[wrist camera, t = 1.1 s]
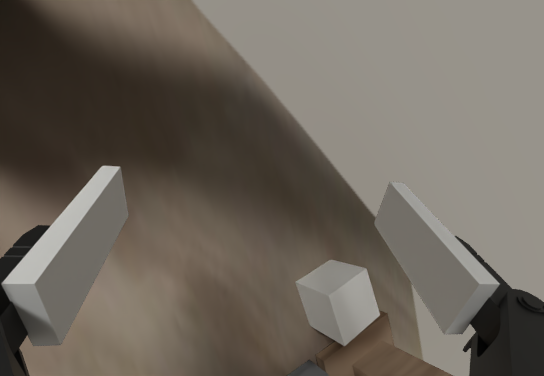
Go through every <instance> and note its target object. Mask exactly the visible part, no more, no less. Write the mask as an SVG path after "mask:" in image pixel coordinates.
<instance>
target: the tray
mask: <svg viewBox="0 0 544 376" xmlns="http://www.w3.org/2000/svg"><path fill="white" fill-rule="evenodd" d="M287 376H329V374H327V373H326V372H325V371H323V370H322V369H321V368H319V367H318V366H317V365H315V364H314V363H313V362H312V361H310V360H308V361H307V362H305V363H304V364H303V365H301V366H300V367H298V368H297V369H296V370H294V371H293V372H291V373H290V374H289V375H287Z"/></svg>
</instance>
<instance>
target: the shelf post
mask: <svg viewBox="0 0 544 376" xmlns="http://www.w3.org/2000/svg"><path fill="white" fill-rule="evenodd" d="M379 313H380V316H379V317H377V318H376V319H375V320H374V321H373V322H372V323H371V324H370V325H368V326H367V327H366V328H365V329H364V330H363V331H362V332H360V333H359V334H358V335H357V336H356V337H355V338H354V339H352V340H351V341H350V342H349V343H348V344H347V345H346V346H343V345H342V344H340V343H338V342H337V341H335V342H333V343H332V344H331V345H329V346H328V347H326V348H325V349H324V350H322V351H321V352H319V353H318V354H317V355H315V356H316V360H317V364H318V367H319V368H321V369H322V370H323V371H325V372H326V373H327V374H329V376H453V375H451V374H448V373H447V372H444V371H443V370H441V369H439V368H437V367H435V366H432V365H430V364H428V363H426V362H425V361H423V360H420V359H418V358H416V357H414V356H412V355H410V354H408V353H406V352H404V351H402V350H400V349H398V348H396V347H395V346H394V342H393V337H392V333H391V328H390V323H389V319H388V314H387V313H384V312H382V311H379Z"/></svg>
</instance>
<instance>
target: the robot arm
mask: <svg viewBox="0 0 544 376" xmlns="http://www.w3.org/2000/svg"><path fill="white" fill-rule="evenodd" d="M128 216H129V215H128V209H127V203H126V197H125V190H124V184H123V178H122V172H121V167H118V166H102V167H101V168H100V169H99V170H98V171H97V173H96V174H95V175H94V176H93V177H92V178H91V180H90V181H89V182H88V183H87V184H86V185H85V187H84V188H83V189H82V190H81V191H80V192H79V194H78V195H77V196H76V197H75V198H74V199H73V201H72V202H71V203H70V204H69V205H68V206H67V208H66V209H65V210H64V211H63V212H62V213H61V215H60V216H59V217H58V218H57V219H56V220H55V222H54V223H53V224H52V225H51V226H46V225H38V226H36V227H35V228H33V229H32V230H30V231H28V232H27V233H25V234H23V235H22V236H21V237H20V238H19V240H18V241H17V242H16V243H15V244H14V245H13V247H12V248H10V249H9V250H8V251H7V252H6V253H5V254H4V257H1V259H0V376H29V373H28V370H27V367H26V364H25V361H24V358H23V355H22V352H21V350H20V349H19V347H20V345H21V344H22V342H23V341H24V339H25V338H26V336H27V335H28V337H29V339H30V341H31V343H32V345H33V346H50V345H61V344H62V342H63V340H64V338H65V336H66V334H67V332H68V330H69V329H70V327H71V325H72V323H73V321H74V319H75V317H76V315H77V313H78V311H79V309H80V308H81V306H82V304H83V302H84V300H85V298H86V296H87V294H88V292H89V290H90V288H91V287H92V285H93V283H94V281H95V279H96V277H97V275H98V273H99V271H100V269H101V267H102V265H103V264H104V262H105V260H106V258H107V256H108V254H109V252H110V250H111V248H112V246H113V244H114V243H115V241H116V239H117V237H118V235H119V233H120V231H121V229H122V227H123V225H124V223H125V222H126V220H127V218H128ZM374 225H375V226H376V228H377V230H378V231H379V233H380V234H381V236H382V237H383V239H384V241H385V242H386V244H387V245H388V247H389V248H390V250H391V252H392V253H393V255H394V256H395V258H396V259H397V261H398V263H399V264H400V266H401V267H402V269H403V270H404V272H405V274H406V275H407V277H408V278H409V280H410V282H411V283H412V285H413V286H414V288H415V289H416V291H417V292H418V294H419V296H420V297H421V299H422V300H423V302H424V304H425V305H426V307H427V308H428V310H429V311H430V313H431V315H432V316H433V318H434V319H435V321H436V322H437V324H438V325H439V327H440V329H441V330H442V332H443V333H444V334H463V332H464V331H465V330H466V328H467V327H468V326H469V324H471V325H472V327H473V328H474V329H475V331H476V333H475V334H474V335H473V336H472V338H471V339H470V340H469V341H468V343H467V344H466V345H465V346H464V349H463V351H464V352H467V350H468V349H469V348H471V359H470V375H469V376H544V302H542V301H541V300H540V299H538V298H537V297H535V296H533V295H532V294H530V293H528V292H525V291H522V290H517V289H512V288H511V287H510V286H509V285H508V284H507V283H506V282H505V281H504V280H503V279H502V278H501V277H500V276H499V275H498V274H497V273H496V272H495V271H494V270H493V269H492V268H491V267H490V266H489V265H488V264H487V263H485V262H484V260H483V259H482V258H481V257H480V256H479V255H477V253H476V252H475V251H474V249H472V247H470V245H469V244H467V243H466V242H464V241H463V240H461V239H460V238H458V237H457V236H454V235H452V233H451V232H450V231H449V230H448V229H447V228H446V227H445V226H444V225H443V224H442V223H441V222H440V221H439V220H438V219H437V218H436V217H435V216H434V214H433V213H432V212H431V211H430V210H429V209H428V208H427V207H426V206H425V205H424V204H423V203H422V202H421V201H420V200H419V199H418V198H417V197H416V196H415V195H414V193H413V192H412V191H411V190H410V189H409V188H408V187H407V186H406V185H405V184H404V183H400V182H389V185H388V188H387V190H386V193H385V195H384V198H383V201H382V203H381V206H380V209H379V211H378V214H377V217H376V219H375V222H374Z"/></svg>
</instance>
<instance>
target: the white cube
mask: <svg viewBox="0 0 544 376" xmlns="http://www.w3.org/2000/svg"><path fill="white" fill-rule="evenodd" d="M296 285H297V288H298V291H299V294H300V297H301V300H302V303H303V306H304V309H305V312H306V315H307V318H308V321H309V324H310V326H311V327H313V328H315V329H316V330H318V331H320V332H321V333H323V334H325V335H326V336H328V337H330V338H331V339H333V340H335V341H337V342H338V343H340V344H342V345H343V346H346V345H347V344H348V343H349V342H350V341H351V340H352V339H354V338H355V337H356V336H357V335H358V334H359V333H360V332H362V331H363V330H364V329H365V328H366V327H367V326H368V325H370V324H371V323H372V322H373V321H374V320H375V319H376V318H377V317H379V316H380V313H379V309H378V306H377V303H376V299H375V296H374V292H373V289H372V286H371V282H370V279H369V276H368V272H367V269H366V268H363V267H359V266H355V265H351V264H347V263H343V262H339V261H335V260H329V261H327V262H326V263H324V264H323V265H321V266H320V267H318V268H317V269H315V270H313V271H312V272H310V273H309V274H307V275H306V276H304V277H303V278H301V279H299V280H298V281H296Z"/></svg>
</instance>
